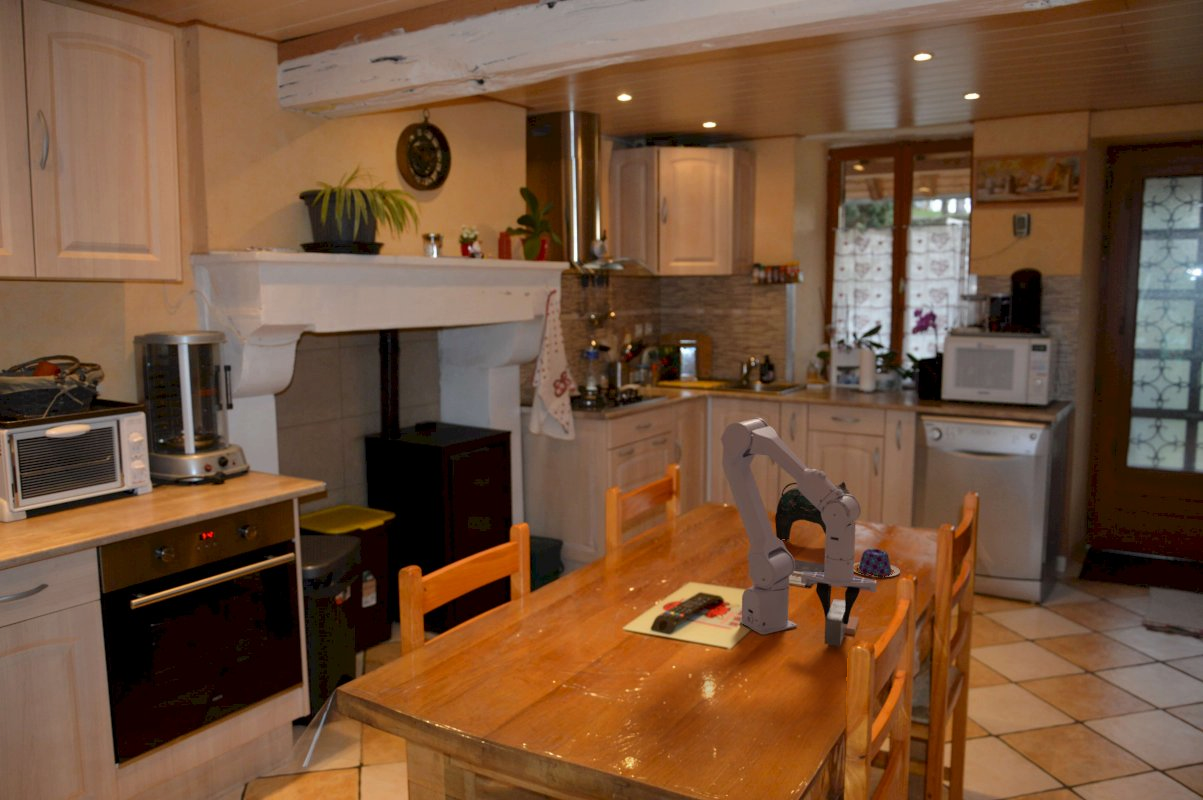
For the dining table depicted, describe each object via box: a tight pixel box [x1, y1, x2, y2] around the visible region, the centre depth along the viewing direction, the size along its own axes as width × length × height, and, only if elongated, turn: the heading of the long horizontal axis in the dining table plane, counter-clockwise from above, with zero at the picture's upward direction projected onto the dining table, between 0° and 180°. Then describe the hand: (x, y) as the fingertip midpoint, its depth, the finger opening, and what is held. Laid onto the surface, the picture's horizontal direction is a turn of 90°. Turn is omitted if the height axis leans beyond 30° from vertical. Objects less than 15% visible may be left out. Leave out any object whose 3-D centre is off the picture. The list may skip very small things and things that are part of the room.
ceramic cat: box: [774, 481, 850, 541], centre depth 252 cm, size 20×6×20 cm, turn 58°
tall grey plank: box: [824, 598, 848, 647], centre depth 185 cm, size 12×3×5 cm, turn 158°
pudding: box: [854, 548, 901, 578], centre depth 230 cm, size 12×12×5 cm
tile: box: [844, 615, 860, 636], centre depth 194 cm, size 2×6×7 cm
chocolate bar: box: [789, 559, 825, 589], centre depth 227 cm, size 9×1×18 cm
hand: (837, 621), depth 185 cm, fingers closed on tall grey plank, 3 cm apart
